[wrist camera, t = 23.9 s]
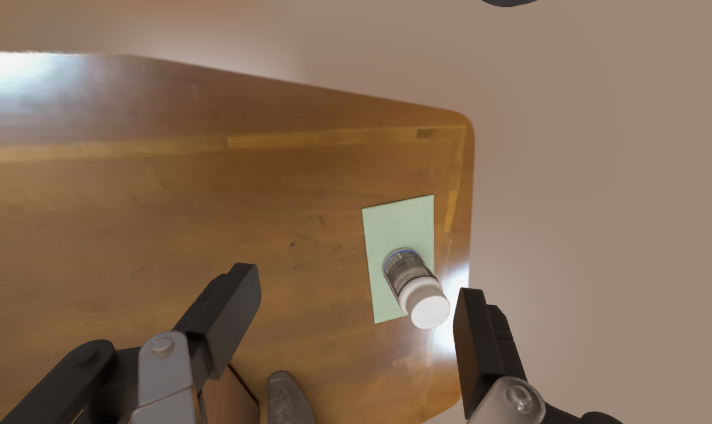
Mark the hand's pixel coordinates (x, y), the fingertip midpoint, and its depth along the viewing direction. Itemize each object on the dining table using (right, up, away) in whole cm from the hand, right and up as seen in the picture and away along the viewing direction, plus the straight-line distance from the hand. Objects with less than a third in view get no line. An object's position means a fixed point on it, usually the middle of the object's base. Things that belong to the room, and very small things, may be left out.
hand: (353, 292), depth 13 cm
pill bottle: (+5, -3, +26) cm, 27 cm away
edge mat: (+5, -3, +26) cm, 27 cm away
